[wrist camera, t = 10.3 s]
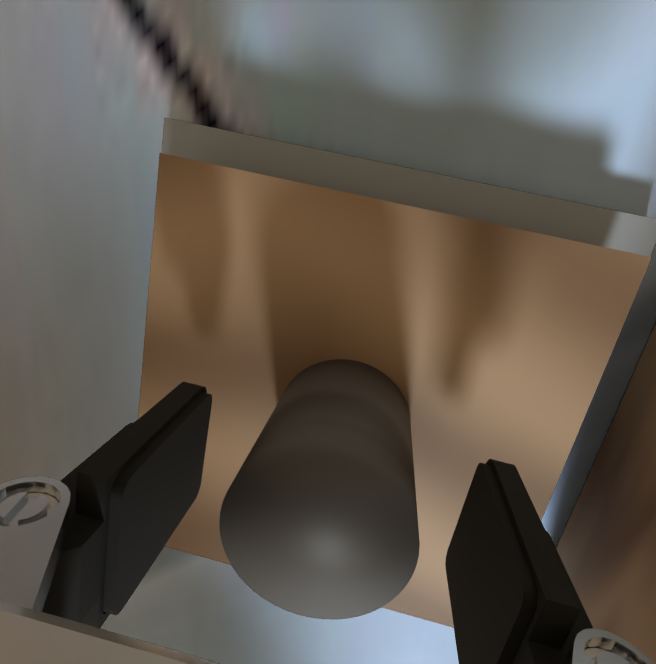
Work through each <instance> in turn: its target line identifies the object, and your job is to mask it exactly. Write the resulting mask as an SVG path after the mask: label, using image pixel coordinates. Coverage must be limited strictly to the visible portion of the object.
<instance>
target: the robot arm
mask: <svg viewBox="0 0 656 664" xmlns="http://www.w3.org/2000/svg"><path fill="white" fill-rule="evenodd" d="M211 406H212V394H208V393H207V390H206V387H204V386H200V385H196V384H192V383H188V382H184V381H183V382H182V383H180V384H179V385H178V386H177V387H176V388H174V389H173V390H172V391H171V392H170V393H168V394H167V395H166V396H165V397H164V398H163V399H161V400H160V401H159V402H158V403H157V404H156V405H154V406H153V407H152V408H151V409H150V410H149V411H147V412H146V413H145V414H144V415H143V416H141V417H140V418H139V419H138V420H137V421H136V422H134V423H130V424H128V425H127V426H125V427H124V428H123V429H122V430H121V431H119V432H118V433H117V434H116V435H115V436H113V437H112V438H111V439H110V440H109V441H107V442H106V443H105V444H104V445H103V446H102V447H100V448H99V449H98V450H97V451H96V452H94V453H93V454H92V455H91V456H90V457H88V458H87V459H86V460H85V461H84V462H82V463H81V464H80V465H79V466H78V467H76V468H75V469H74V470H73V471H72V472H70V473H69V474H68V475H67V476H66V477H65V478H63V479H62V480H61V481H59V480H56V479H53V478H50V477H39V476H33V477H22V478H18V479H14V480H10V481H6V482H4V483H2V484H0V664H219V663H215V662H212V661H208V660H205V659H202V658H198V657H195V656H192V655H188V654H185V653H181V652H178V651H175V650H171V649H168V648H164V647H161V646H157V645H154V644H151V643H147V642H144V641H140V640H137V639H134V638H130V637H127V636H123V635H120V634H117V633H113V632H110V631H106V630H103V629H100V627H101V626H102V625H103V623H104V622H105V620H106V619H107V617H108V616H109V614H113V615H117V614H118V613H120V611H121V610H122V609H123V607H124V606H125V604H126V603H127V601H128V600H129V598H130V597H131V595H132V594H133V592H134V591H135V589H136V588H137V586H138V585H139V583H140V582H141V580H142V579H143V577H144V576H145V574H146V573H147V571H148V570H149V568H150V567H151V565H152V564H153V562H154V561H155V559H156V558H157V556H158V555H159V553H160V552H161V550H162V549H163V547H164V546H165V544H166V543H167V541H168V540H169V538H170V537H171V535H172V534H173V532H174V531H175V529H176V528H177V526H178V525H179V523H180V522H181V520H182V519H183V517H184V516H185V514H186V513H187V511H188V510H189V508H190V507H191V505H192V504H193V502H194V501H195V499H196V497H197V495H198V493H199V490H200V486H201V480H202V472H203V465H204V458H205V450H206V443H207V436H208V428H209V421H210V414H211ZM445 566H446V575H447V582H448V589H449V596H450V603H451V610H452V617H453V624H454V631H455V638H456V645H457V653H458V660H459V664H654V662H653V661H652V660H651V659H649V658H648V657H647V656H646V655H645V654H644V653H643V652H641V651H640V650H639V649H638V648H637V647H635V646H634V645H632V644H631V643H629V642H628V641H626V640H625V639H623V638H621V637H619V636H617V635H615V634H613V633H610V632H608V631H604V630H600V629H596V628H593V626H592V624H591V622H590V620H589V618H588V616H587V613H586V611H585V609H584V607H583V605H582V603H581V601H580V599H579V596H578V594H577V592H576V590H575V588H574V586H573V584H572V581H571V579H570V577H569V575H568V573H567V571H566V569H565V566H564V564H563V562H562V560H561V558H560V556H559V554H558V552H557V549H556V547H555V545H554V543H553V541H552V539H551V537H550V535H549V534H548V532H546V531H545V529H544V527H543V525H542V522H541V520H540V518H539V516H538V514H537V512H536V509H535V507H534V505H533V503H532V501H531V498H530V496H529V494H528V492H527V490H526V488H525V485H524V483H523V481H522V479H521V477H520V475H519V472H518V470H517V468H516V466H515V465H513V464H509V463H505V462H501V461H497V460H493V459H489V460H488V461H487V462H486V464H484V463H479V464H478V466H477V468H476V471H475V474H474V477H473V479H472V482H471V485H470V488H469V491H468V494H467V496H466V499H465V502H464V505H463V508H462V511H461V513H460V516H459V519H458V522H457V525H456V528H455V530H454V533H453V536H452V539H451V542H450V545H449V547H448V550H447V554H446V562H445Z"/></svg>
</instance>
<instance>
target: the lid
mask: <svg viewBox="0 0 656 664" xmlns="http://www.w3.org/2000/svg"><path fill="white" fill-rule="evenodd" d="M651 258H652V257H648V256H644V255H639V254H634V253H630V252H625V251H620V250H616V249H611V248H606V247H601V246H597V245H592V244H587V243H583V242H578V241H573V240H568V239H564V238H559V237H554V236H550V235H545V234H540V233H536V232H531V231H526V230H521V229H517V228H512V227H507V226H503V225H498V224H493V223H488V222H484V221H479V220H474V219H470V218H465V217H460V216H456V215H451V214H446V213H441V212H437V211H432V210H427V209H423V208H418V207H413V206H408V205H404V204H399V203H394V202H390V201H385V200H380V199H375V198H371V197H366V196H361V195H357V194H352V193H347V192H343V191H338V190H333V189H328V188H324V187H319V186H314V185H310V184H305V183H300V182H295V181H291V180H286V179H281V178H277V177H272V176H267V175H263V174H258V173H253V172H248V171H244V170H239V169H234V168H230V167H225V166H220V165H215V164H211V163H206V162H201V161H197V160H192V159H187V158H182V157H178V156H173V155H168V154H163V153H160V157H159V170H158V182H157V194H156V206H155V218H154V230H153V243H152V255H151V267H150V279H149V291H148V304H147V316H146V328H145V340H144V352H143V364H142V377H141V389H140V401H139V413H138V419H139V418H140V417H141V416H143V415H144V414H145V413H146V412H147V411H149V410H150V409H151V408H152V407H153V406H154V405H156V404H157V403H158V402H159V401H160V400H161V399H163V398H164V397H165V396H166V395H167V394H168V393H170V392H171V391H172V390H173V389H174V388H176V387H177V386H178V385H179V384H180V383H182V382H183V381H184V382H188V383H192V384H196V385H200V386H204V387H206V390H207V393H208V394H212V406H211V414H210V421H209V428H208V436H207V443H206V450H205V458H204V465H203V472H202V480H201V486H200V490H199V493H198V495H197V497H196V499H195V501H194V502H193V504H192V505H191V507H190V508H189V510H188V511H187V513H186V514H185V516H184V517H183V519H182V520H181V522H180V523H179V525H178V526H177V528H176V529H175V531H174V532H173V534H172V535H171V537H170V538H169V540H168V541H167V543H166V544H165V546H166V547H169V548H173V549H177V550H180V551H184V552H187V553H191V554H194V555H198V556H201V557H205V558H208V559H212V560H216V561H219V562H223V563H226V564H230V565H232V567H233V568H234V570H235V571H236V573H237V574H238V575H239V577H240V578H241V579H242V580H243V581H244V582H245V583H246V584H247V585H248V586H249V587H250V588H251V589H252V590H253V591H254V592H256V593H257V594H258V595H260V596H261V597H262V598H264V599H265V600H267V601H269V602H270V603H272V604H274V605H275V606H278V607H280V608H282V609H284V610H286V611H289V612H292V613H295V614H298V615H302V616H306V617H311V618H318V619H346V618H352V617H357V616H361V615H364V614H367V613H370V612H372V611H375V610H377V609H379V608H381V607H382V608H386V609H389V610H393V611H396V612H400V613H404V614H407V615H411V616H414V617H418V618H421V619H425V620H428V621H432V622H435V623H439V624H443V625H446V626H450V627H453V628H454V624H453V617H452V610H451V603H450V596H449V589H448V582H447V575H446V566H445V562H446V554H447V550H448V547H449V545H450V542H451V539H452V536H453V533H454V530H455V528H456V525H457V522H458V519H459V516H460V513H461V511H462V508H463V505H464V502H465V499H466V496H467V494H468V491H469V488H470V485H471V482H472V479H473V477H474V474H475V471H476V468H477V466H478V464H479V463H484V464H486V462H487V461H488V460H489V459H493V460H497V461H501V462H505V463H509V464H513V465H515V466H516V468H517V470H518V472H519V475H520V477H521V479H522V481H523V483H524V485H525V488H526V490H527V492H528V494H529V496H530V498H531V501H532V503H533V505H534V507H535V509H536V512H537V514H538V516H539V518H540V520H542V517H543V515H544V513H545V510H546V508H547V505H548V503H549V501H550V498H551V496H552V494H553V491H554V489H555V486H556V484H557V482H558V479H559V477H560V475H561V472H562V470H563V467H564V465H565V463H566V460H567V458H568V456H569V453H570V451H571V448H572V446H573V444H574V441H575V439H576V436H577V434H578V432H579V429H580V427H581V425H582V422H583V420H584V417H585V415H586V413H587V410H588V408H589V406H590V403H591V401H592V398H593V396H594V394H595V391H596V389H597V387H598V384H599V382H600V379H601V377H602V375H603V372H604V370H605V368H606V365H607V363H608V360H609V358H610V356H611V353H612V351H613V349H614V346H615V344H616V341H617V339H618V337H619V334H620V332H621V329H622V327H623V325H624V322H625V320H626V318H627V315H628V313H629V310H630V308H631V306H632V303H633V301H634V299H635V296H636V294H637V291H638V289H639V287H640V284H641V282H642V280H643V277H644V275H645V272H646V270H647V268H648V265H649V263H650V261H651Z"/></svg>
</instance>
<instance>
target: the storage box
mask: <svg viewBox="0 0 656 664" xmlns="http://www.w3.org/2000/svg"><path fill="white" fill-rule="evenodd" d="M556 549H557V552H558V554H559V556H560V558H561V560H562V562H563V564H564V566H565V569H566V571H567V573H568V575H569V577H570V579H571V581H572V584H573V586H574V588H575V590H576V592H577V594H578V596H579V599H580V601H581V603H582V605H583V607H584V609H585V611H586V613H587V616H588V618H589V620H590V622H591V624H592V626H593V628H596V629H600V630H604V631H608V632H610V633H613V634H615V635H617V636H619V637H621V638H623V639H625V640H626V641H628V642H629V643H631V644H632V645H634V646H635V647H637V648H638V649H639V650H640V651H641V652H643V653H644V654H645V655H646V656H647V657H648V658H649V659H651V660H652V661H653V662H654V664H656V324H655V326H654V328H653V331H652V333H651V335H650V337H649V340H648V342H647V344H646V346H645V349H644V351H643V353H642V355H641V358H640V360H639V362H638V364H637V367H636V369H635V371H634V373H633V376H632V378H631V380H630V382H629V385H628V387H627V389H626V391H625V394H624V396H623V398H622V400H621V403H620V405H619V407H618V409H617V412H616V414H615V416H614V419H613V421H612V423H611V425H610V428H609V430H608V432H607V434H606V437H605V439H604V441H603V443H602V446H601V448H600V450H599V452H598V455H597V457H596V459H595V461H594V464H593V466H592V468H591V470H590V473H589V475H588V477H587V479H586V482H585V484H584V486H583V488H582V491H581V493H580V495H579V497H578V500H577V502H576V504H575V506H574V509H573V511H572V513H571V516H570V518H569V520H568V522H567V525H566V527H565V529H564V531H563V534H562V536H561V538H560V540H559V543H558V545H557V547H556Z"/></svg>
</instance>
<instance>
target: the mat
mask: <svg viewBox="0 0 656 664" xmlns="http://www.w3.org/2000/svg"><path fill="white" fill-rule="evenodd" d="M162 153H163V154H168V155H173V156H178V157H182V158H187V159H192V160H197V161H201V162H206V163H211V164H215V165H220V166H225V167H230V168H234V169H239V170H244V171H248V172H253V173H258V174H263V175H267V176H272V177H277V178H281V179H286V180H291V181H295V182H300V183H305V184H310V185H314V186H319V187H324V188H328V189H333V190H338V191H343V192H347V193H352V194H357V195H361V196H366V197H371V198H375V199H380V200H385V201H390V202H394V203H399V204H404V205H408V206H413V207H418V208H423V209H427V210H432V211H437V212H441V213H446V214H451V215H456V216H460V217H465V218H470V219H474V220H479V221H484V222H488V223H493V224H498V225H503V226H507V227H512V228H517V229H521V230H526V231H531V232H536V233H540V234H545V235H550V236H554V237H559V238H564V239H568V240H573V241H578V242H583V243H587V244H592V245H597V246H601V247H606V248H611V249H616V250H620V251H625V252H630V253H634V254H639V255H644V256H648V257H650V255H651V253H652V250H653V248H654V246H655V243H656V219H654V218H649V217H644V216H639V215H634V214H629V213H625V212H620V211H615V210H610V209H605V208H600V207H596V206H591V205H586V204H581V203H576V202H571V201H566V200H562V199H557V198H552V197H547V196H542V195H537V194H533V193H528V192H523V191H518V190H513V189H508V188H503V187H499V186H494V185H489V184H484V183H479V182H474V181H470V180H465V179H460V178H455V177H450V176H445V175H440V174H436V173H431V172H426V171H421V170H416V169H411V168H407V167H402V166H397V165H392V164H387V163H382V162H377V161H373V160H368V159H363V158H358V157H353V156H348V155H343V154H339V153H334V152H329V151H324V150H319V149H314V148H310V147H305V146H300V145H295V144H290V143H285V142H280V141H276V140H271V139H266V138H261V137H256V136H251V135H247V134H242V133H237V132H232V131H227V130H222V129H217V128H213V127H208V126H203V125H198V124H193V123H188V122H184V121H179V120H174V119H169V118H164V130H163V142H162Z"/></svg>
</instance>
